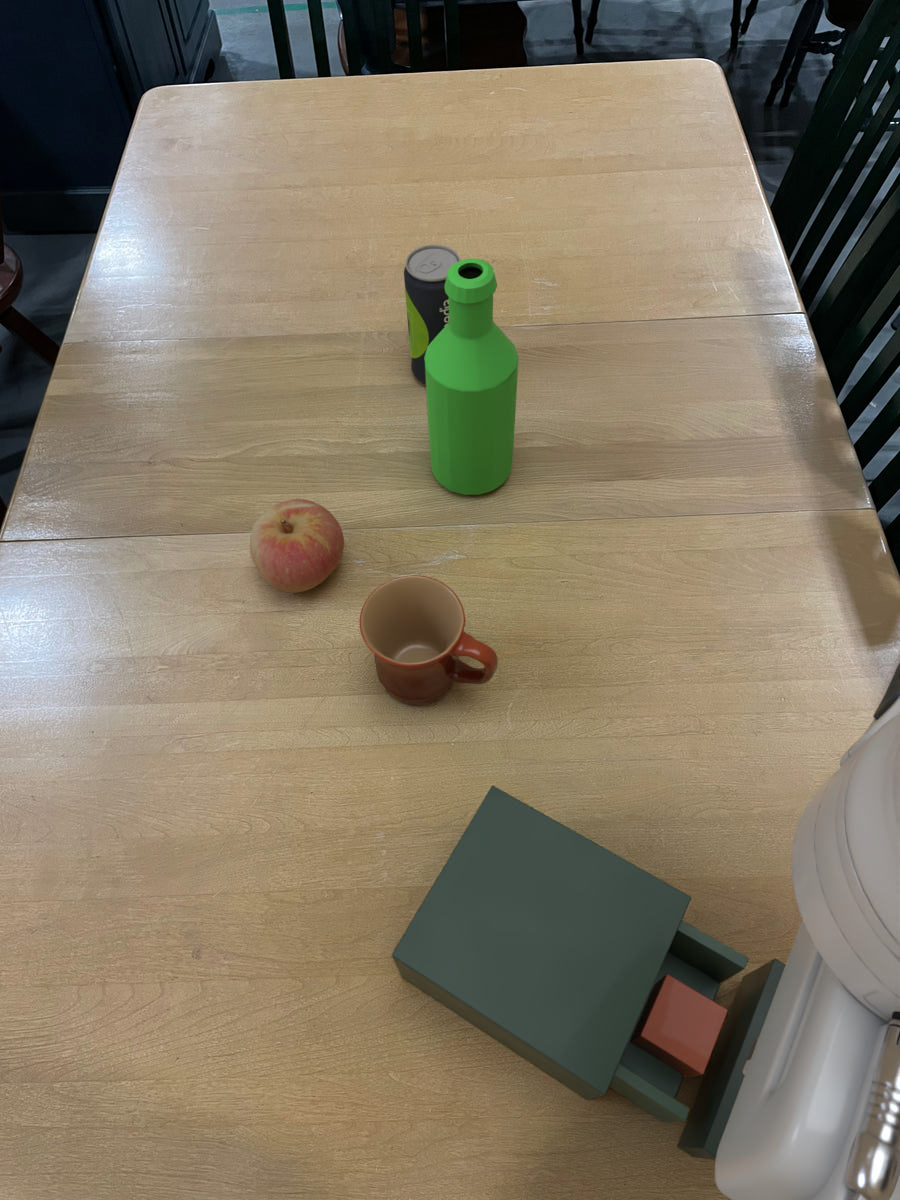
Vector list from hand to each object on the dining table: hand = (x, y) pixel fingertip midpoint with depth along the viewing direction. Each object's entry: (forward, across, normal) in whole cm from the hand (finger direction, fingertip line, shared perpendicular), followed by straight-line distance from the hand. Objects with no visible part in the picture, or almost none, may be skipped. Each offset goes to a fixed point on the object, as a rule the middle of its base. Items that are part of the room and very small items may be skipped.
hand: (805, 961), depth 36 cm
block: (+29, 0, 0) cm, 29 cm away
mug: (+31, +16, +30) cm, 46 cm away
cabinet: (+31, 0, +11) cm, 33 cm away
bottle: (+31, +40, +40) cm, 65 cm away
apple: (+31, +20, +48) cm, 61 cm away
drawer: (+30, 0, 0) cm, 30 cm away
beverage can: (+31, +51, +51) cm, 79 cm away
